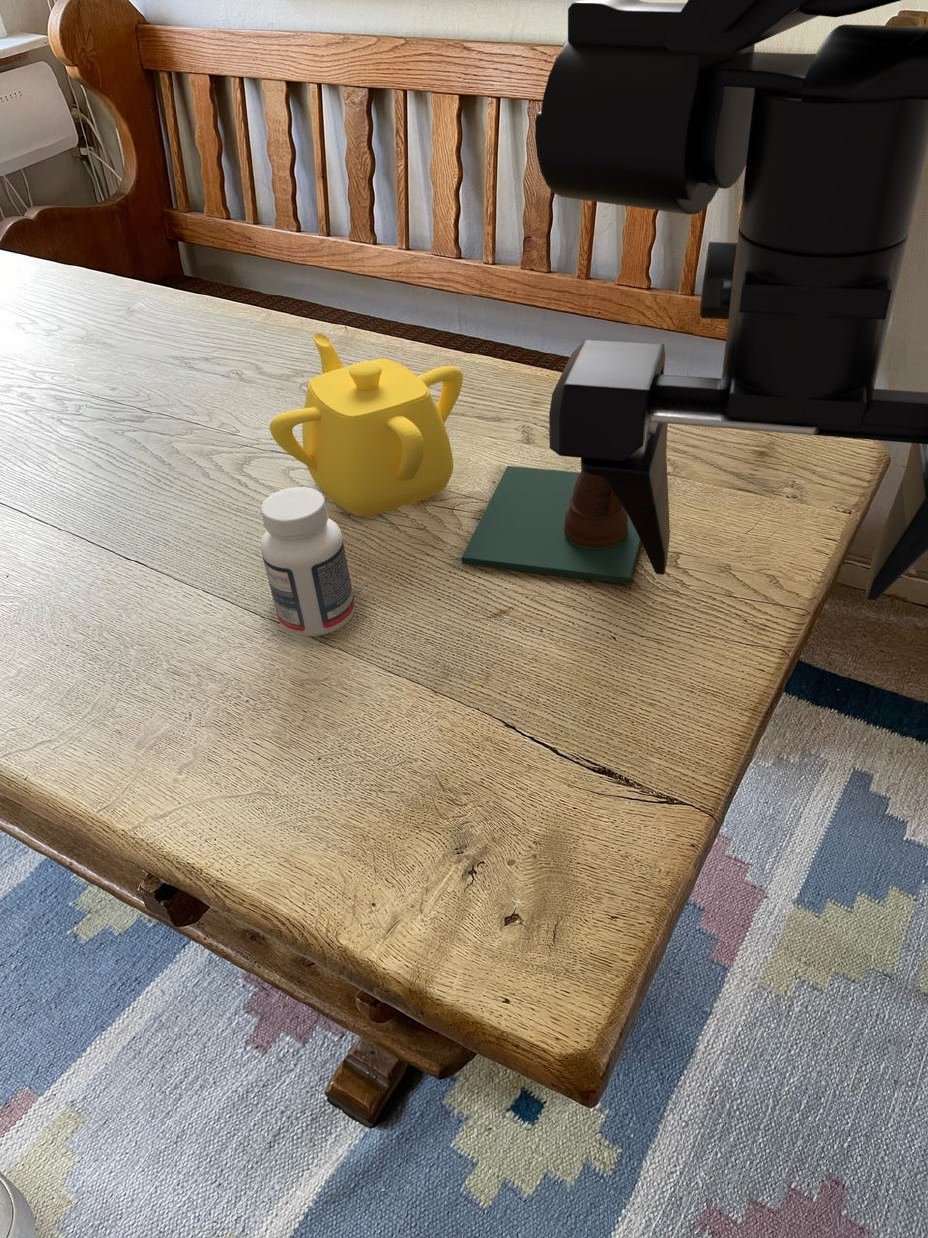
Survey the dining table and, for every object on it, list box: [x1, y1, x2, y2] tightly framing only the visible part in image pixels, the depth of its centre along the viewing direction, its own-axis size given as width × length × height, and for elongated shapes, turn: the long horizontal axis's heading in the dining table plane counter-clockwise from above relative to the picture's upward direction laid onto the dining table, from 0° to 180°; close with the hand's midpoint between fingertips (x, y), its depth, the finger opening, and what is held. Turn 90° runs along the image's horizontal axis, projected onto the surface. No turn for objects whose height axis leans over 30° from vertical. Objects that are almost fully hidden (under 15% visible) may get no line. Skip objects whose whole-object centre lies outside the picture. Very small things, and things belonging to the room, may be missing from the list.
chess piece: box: [564, 469, 628, 550], centre depth 66 cm, size 5×5×10 cm
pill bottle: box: [260, 486, 356, 638], centre depth 62 cm, size 5×5×9 cm
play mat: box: [460, 465, 642, 585], centre depth 72 cm, size 12×13×1 cm
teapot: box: [269, 332, 464, 517], centre depth 75 cm, size 14×13×10 cm
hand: (763, 581), depth 44 cm, fingers open, 9 cm apart
